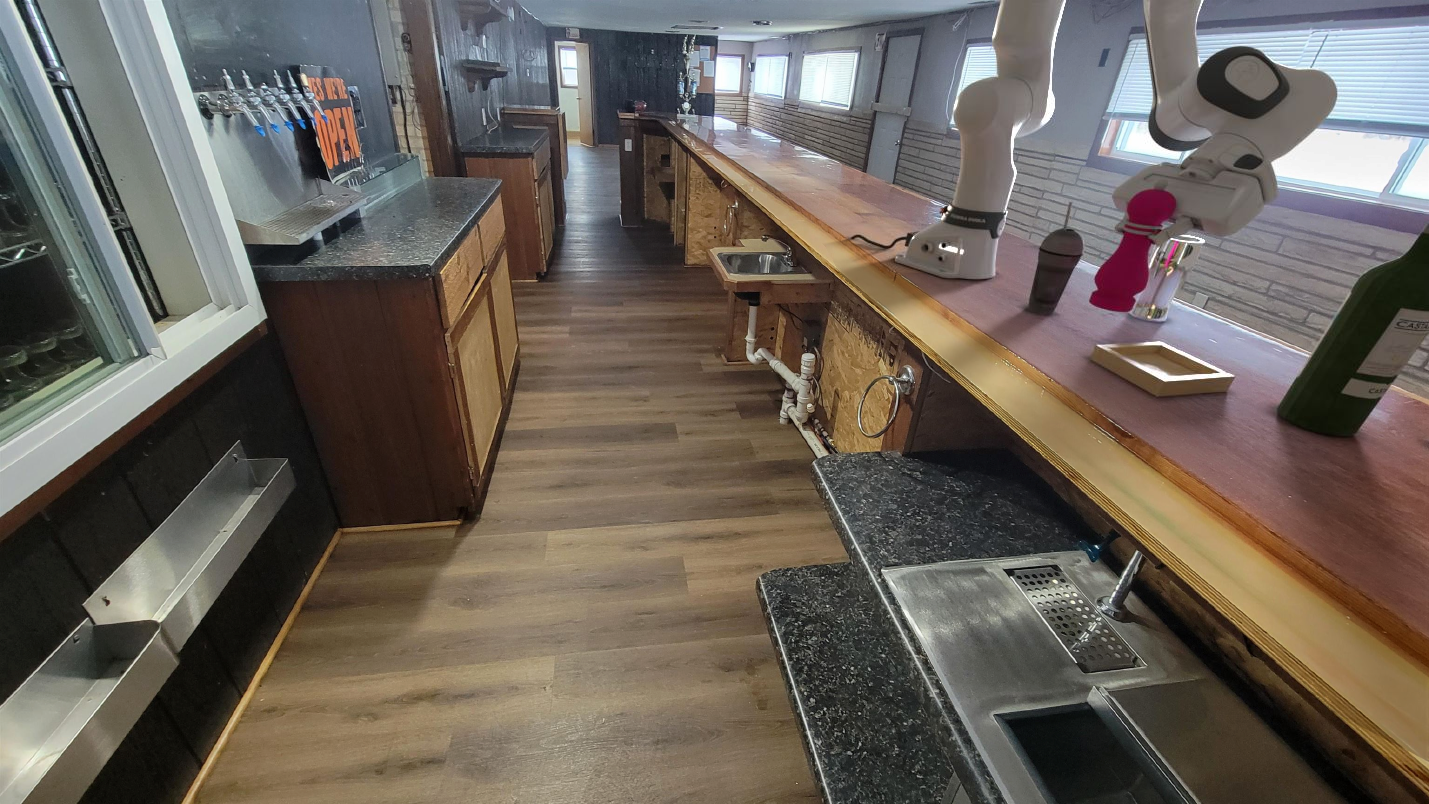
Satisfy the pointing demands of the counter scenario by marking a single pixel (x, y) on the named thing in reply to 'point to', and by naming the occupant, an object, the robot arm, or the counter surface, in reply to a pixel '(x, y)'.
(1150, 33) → the robot arm
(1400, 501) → the counter surface
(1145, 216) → the pepper mill
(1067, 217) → the beverage cup
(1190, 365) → the tray
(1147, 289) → the beer glass
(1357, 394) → the wine bottle
